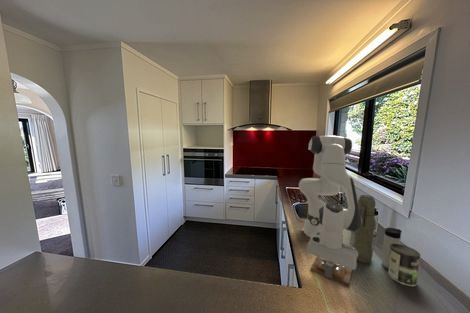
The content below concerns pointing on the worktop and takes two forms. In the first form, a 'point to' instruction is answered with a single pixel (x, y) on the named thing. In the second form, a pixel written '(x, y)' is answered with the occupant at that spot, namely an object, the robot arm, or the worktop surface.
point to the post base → (344, 280)
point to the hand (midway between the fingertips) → (329, 269)
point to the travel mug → (389, 243)
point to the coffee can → (403, 264)
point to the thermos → (365, 229)
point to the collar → (331, 268)
